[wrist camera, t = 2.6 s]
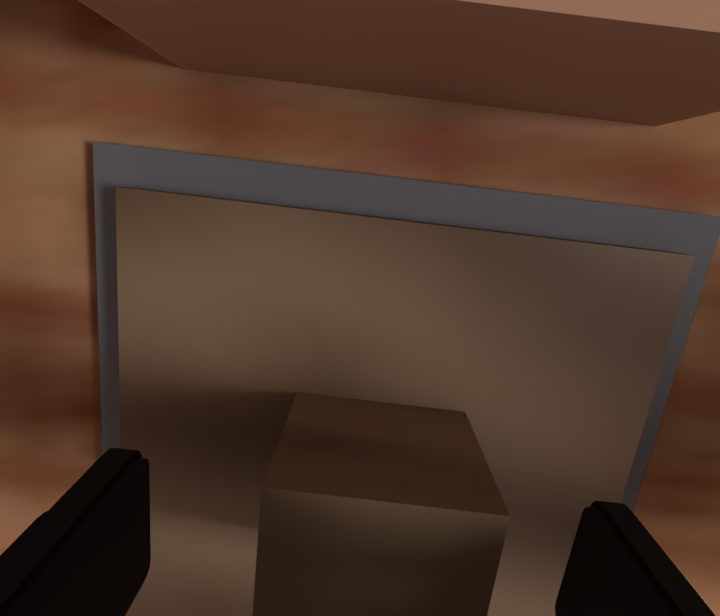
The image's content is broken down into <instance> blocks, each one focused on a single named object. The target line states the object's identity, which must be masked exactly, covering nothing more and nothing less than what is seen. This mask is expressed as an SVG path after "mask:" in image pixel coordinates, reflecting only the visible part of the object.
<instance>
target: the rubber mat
mask: <svg viewBox="0 0 720 616" xmlns="http://www.w3.org/2000/svg"><path fill="white" fill-rule="evenodd" d="M93 170H94V203H95V236H96V268H97V301H98V333H99V366H100V398H101V431H102V455H103V454H104V453H105V452H106V451H107V450H108V449H110V448H121V445H120V393H119V341H118V289H117V237H116V187H135V188H143V189H152V190H160V191H168V192H177V193H185V194H194V195H202V196H210V197H219V198H227V199H236V200H244V201H252V202H261V203H269V204H277V205H286V206H294V207H303V208H311V209H319V210H328V211H336V212H345V213H353V214H361V215H370V216H378V217H386V218H395V219H403V220H412V221H420V222H428V223H437V224H445V225H454V226H462V227H470V228H479V229H487V230H495V231H504V232H512V233H521V234H529V235H537V236H546V237H554V238H563V239H571V240H579V241H588V242H596V243H604V244H613V245H621V246H630V247H638V248H646V249H655V250H663V251H672V252H678V253H683V254H688V255H693V256H695V259H694V262H693V265H692V269H691V272H690V275H689V279H688V282H687V285H686V289H685V292H684V295H683V298H682V302H681V305H680V308H679V312H678V315H677V318H676V322H675V325H674V328H673V331H672V335H671V338H670V341H669V345H668V348H667V351H666V355H665V358H664V361H663V365H662V368H661V371H660V374H659V378H658V381H657V384H656V388H655V391H654V394H653V398H652V401H651V404H650V407H649V411H648V414H647V417H646V421H645V424H644V427H643V431H642V434H641V437H640V441H639V444H638V447H637V450H636V454H635V457H634V460H633V464H632V467H631V470H630V474H629V477H628V480H627V483H626V487H625V490H624V493H623V497H622V500H621V503H622V504H625V505H626V506H627V507H628V508H629V509H630V510H631V511H633V508H634V505H635V502H636V499H637V495H638V492H639V489H640V486H641V483H642V479H643V476H644V473H645V470H646V467H647V463H648V460H649V457H650V454H651V450H652V447H653V444H654V441H655V438H656V434H657V431H658V428H659V425H660V422H661V418H662V415H663V412H664V409H665V406H666V402H667V399H668V396H669V393H670V390H671V386H672V383H673V380H674V377H675V374H676V370H677V367H678V364H679V361H680V358H681V354H682V351H683V348H684V345H685V342H686V338H687V335H688V332H689V329H690V325H691V322H692V319H693V316H694V313H695V309H696V306H697V303H698V300H699V297H700V293H701V290H702V287H703V284H704V281H705V277H706V274H707V271H708V268H709V265H710V261H711V258H712V255H713V252H714V249H715V245H716V242H717V239H718V236H719V233H720V216H711V215H703V214H695V213H686V212H678V211H669V210H661V209H653V208H644V207H636V206H628V205H619V204H611V203H603V202H594V201H586V200H578V199H569V198H561V197H552V196H544V195H536V194H527V193H519V192H511V191H502V190H494V189H486V188H477V187H469V186H461V185H452V184H444V183H436V182H427V181H419V180H410V179H402V178H394V177H385V176H377V175H369V174H360V173H352V172H344V171H335V170H327V169H319V168H310V167H302V166H294V165H285V164H277V163H268V162H260V161H252V160H243V159H235V158H227V157H218V156H210V155H202V154H193V153H185V152H177V151H168V150H160V149H151V148H143V147H135V146H126V145H118V144H110V143H101V142H93Z"/></svg>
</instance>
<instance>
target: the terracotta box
mask: <svg viewBox="0 0 720 616" xmlns="http://www.w3.org/2000/svg"><path fill="white" fill-rule="evenodd" d="M78 1H79V2H81V3H82V4H84V5H85V6H87V7H89V8H90V9H92V10H93V11H95V12H96V13H98V14H99V15H101V16H102V17H104V18H105V19H107V20H108V21H110V22H111V23H113V24H114V25H116V26H117V27H119V28H120V29H122V30H123V31H125V32H126V33H128V34H129V35H131V36H132V37H134V38H135V39H137V40H138V41H140V42H141V43H143V44H144V45H146V46H148V47H149V48H151V49H152V50H154V51H155V52H157V53H158V54H160V55H161V56H163V57H164V58H166V59H167V60H169V61H170V62H172V63H173V64H175V65H176V66H178V67H179V68H182V69H190V70H199V71H207V72H215V73H223V74H231V75H240V76H248V77H256V78H264V79H273V80H281V81H289V82H297V83H306V84H314V85H322V86H330V87H339V88H347V89H355V90H363V91H371V92H380V93H388V94H396V95H404V96H413V97H421V98H429V99H437V100H446V101H454V102H462V103H470V104H478V105H487V106H495V107H503V108H511V109H520V110H528V111H536V112H544V113H553V114H561V115H569V116H577V117H585V118H594V119H602V120H610V121H618V122H627V123H635V124H643V125H651V126H659V125H664V124H668V123H672V122H676V121H680V120H685V119H689V118H693V117H697V116H701V115H706V114H710V113H714V112H718V111H720V0H78Z"/></svg>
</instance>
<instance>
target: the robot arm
mask: <svg viewBox="0 0 720 616" xmlns="http://www.w3.org/2000/svg"><path fill="white" fill-rule="evenodd" d="M150 561H151V547H150V475H149V461H148V459H146V458H142V454H141V452H140V451H138V450H130V449H121V448H110V449H108V450H107V451H106V452H105V453H104V454H103V455H102V456H101V457H100V458H99V459H98V460H97V461H96V462H95V463H94V464H93V465H92V466H91V467H90V468H89V469H88V470H87V472H86V473H85V474H84V475H83V476H82V477H81V478H80V479H79V480H78V481H77V482H76V483H75V484H74V485H73V486H72V487H71V488H70V489H69V490H68V491H67V492H66V493H65V494H64V495H63V496H62V497H61V498H60V499H59V500H58V501H57V502H56V503H55V504H54V506H53V507H52V508H51V509H50V510H49V511H47V512H45V513H43V514H42V515H41V516H39V517H38V518H37V519H36V520H35V521H34V522H33V523H32V524H31V525H30V526H29V527H28V528H27V529H26V530H25V531H24V532H23V533H22V534H21V535H20V536H19V537H18V538H17V539H16V540H15V541H14V542H13V543H12V544H11V545H10V546H9V547H8V548H7V549H6V550H5V552H4V553H3V554H2V555H1V556H0V616H125V615H126V613H127V612H128V610H129V608H130V606H131V605H132V603H133V601H134V599H135V597H136V596H137V594H138V592H139V590H140V588H141V587H142V585H143V583H144V581H145V579H146V577H147V574H148V571H149V568H150ZM555 615H556V616H715V615H714V613H713V612H712V611H711V610H710V608H709V607H708V606H707V605H706V603H705V602H704V601H703V600H702V598H701V597H700V596H699V595H698V593H697V592H696V591H695V590H694V588H693V587H692V586H691V585H690V584H689V582H688V581H687V580H686V579H685V577H684V576H683V575H682V574H681V572H680V571H679V570H678V569H677V567H676V566H675V565H674V564H673V562H672V561H671V560H670V559H669V557H668V556H667V555H666V554H665V552H664V551H663V550H662V549H661V547H660V546H659V545H658V544H657V542H656V541H655V540H654V539H653V537H652V536H651V535H650V534H649V532H648V531H647V530H646V529H645V527H644V526H643V525H642V524H641V522H640V521H639V520H638V519H637V517H636V516H635V515H634V514H633V512H632V511H631V510H630V509H629V508H628V507H627V506H626V505H625V504H622V503H615V502H606V501H594V502H593V503H592V504H591V506H590V507H585V508H584V510H583V512H582V515H581V519H580V522H579V525H578V529H577V532H576V535H575V539H574V542H573V545H572V549H571V552H570V556H569V559H568V562H567V566H566V569H565V572H564V576H563V579H562V582H561V586H560V589H559V593H558V596H557V599H556V603H555Z"/></svg>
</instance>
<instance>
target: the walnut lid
mask: <svg viewBox="0 0 720 616" xmlns="http://www.w3.org/2000/svg"><path fill="white" fill-rule="evenodd" d="M116 237H117V289H118V341H119V393H120V445H121V449H130V450H138V451H140V452H141V454H142V458H146V459H148V461H149V475H150V547H151V561H150V568H149V571H148V574H147V577H146V579H145V581H144V583H143V585H142V587H141V588H140V590H139V592H138V594H137V596H136V597H135V599H134V601H133V603H132V605H131V606H130V608H129V610H128V612H127V613H126V615H125V616H556V615H555V603H556V599H557V596H558V593H559V589H560V586H561V582H562V579H563V576H564V572H565V569H566V566H567V562H568V559H569V556H570V552H571V549H572V545H573V542H574V539H575V535H576V532H577V529H578V525H579V522H580V519H581V515H582V512H583V510H584V508H585V507H590V506H591V504H592V503H593V502H594V501H606V502H615V503H621V500H622V497H623V493H624V490H625V487H626V483H627V480H628V477H629V474H630V470H631V467H632V464H633V460H634V457H635V454H636V450H637V447H638V444H639V441H640V437H641V434H642V431H643V427H644V424H645V421H646V417H647V414H648V411H649V407H650V404H651V401H652V398H653V394H654V391H655V388H656V384H657V381H658V378H659V374H660V371H661V368H662V365H663V361H664V358H665V355H666V351H667V348H668V345H669V341H670V338H671V335H672V331H673V328H674V325H675V322H676V318H677V315H678V312H679V308H680V305H681V302H682V298H683V295H684V292H685V289H686V285H687V282H688V279H689V275H690V272H691V269H692V265H693V262H694V259H695V256H693V255H688V254H683V253H678V252H672V251H663V250H655V249H646V248H638V247H630V246H621V245H613V244H604V243H596V242H588V241H579V240H571V239H563V238H554V237H546V236H537V235H529V234H521V233H512V232H504V231H495V230H487V229H479V228H470V227H462V226H454V225H445V224H437V223H428V222H420V221H412V220H403V219H395V218H386V217H378V216H370V215H361V214H353V213H345V212H336V211H328V210H319V209H311V208H303V207H294V206H286V205H277V204H269V203H261V202H252V201H244V200H236V199H227V198H219V197H210V196H202V195H194V194H185V193H177V192H168V191H160V190H152V189H143V188H135V187H116Z"/></svg>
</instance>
